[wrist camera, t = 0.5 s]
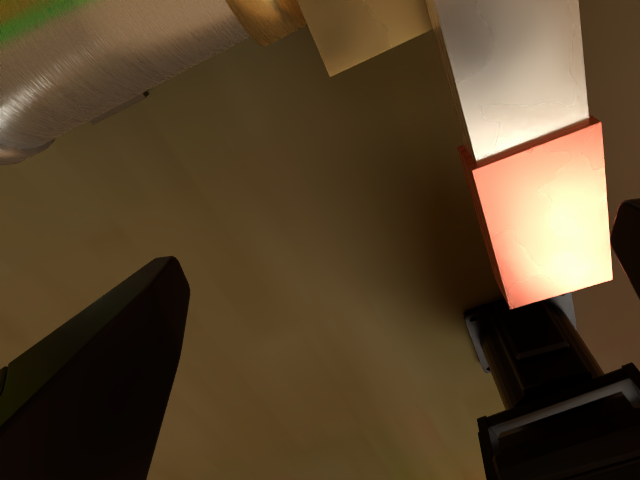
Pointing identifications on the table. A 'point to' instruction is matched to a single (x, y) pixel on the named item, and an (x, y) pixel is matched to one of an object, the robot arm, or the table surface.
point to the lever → (528, 142)
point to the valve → (158, 51)
